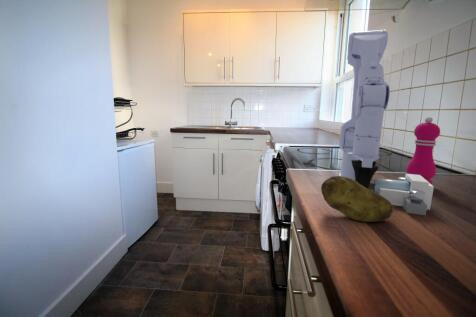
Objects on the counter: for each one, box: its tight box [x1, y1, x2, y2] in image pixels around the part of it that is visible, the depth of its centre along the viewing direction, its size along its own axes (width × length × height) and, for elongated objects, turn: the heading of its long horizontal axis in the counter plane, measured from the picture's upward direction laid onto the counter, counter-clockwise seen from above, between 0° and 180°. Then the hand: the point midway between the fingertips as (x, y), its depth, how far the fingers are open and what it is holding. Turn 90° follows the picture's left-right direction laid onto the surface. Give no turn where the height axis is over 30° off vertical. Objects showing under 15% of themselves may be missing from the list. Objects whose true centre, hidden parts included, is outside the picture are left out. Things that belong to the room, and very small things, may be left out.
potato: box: [320, 175, 393, 223], centre depth 51 cm, size 8×13×8 cm, turn 52°
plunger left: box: [397, 176, 405, 181], centre depth 66 cm, size 3×3×4 cm
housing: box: [379, 173, 435, 216], centre depth 61 cm, size 15×10×6 cm, turn 158°
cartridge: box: [368, 177, 411, 194], centre depth 63 cm, size 4×12×5 cm, turn 68°
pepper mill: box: [405, 116, 441, 185], centre depth 74 cm, size 7×7×20 cm
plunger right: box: [408, 190, 425, 203], centre depth 55 cm, size 3×3×4 cm
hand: (360, 190), depth 65 cm, fingers closed on cartridge, 3 cm apart
